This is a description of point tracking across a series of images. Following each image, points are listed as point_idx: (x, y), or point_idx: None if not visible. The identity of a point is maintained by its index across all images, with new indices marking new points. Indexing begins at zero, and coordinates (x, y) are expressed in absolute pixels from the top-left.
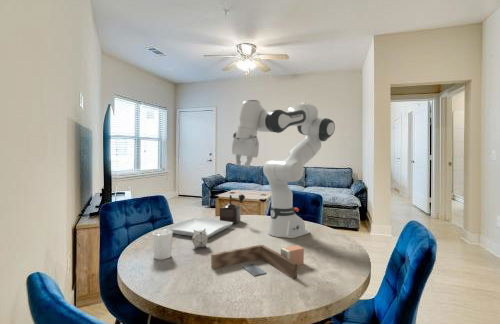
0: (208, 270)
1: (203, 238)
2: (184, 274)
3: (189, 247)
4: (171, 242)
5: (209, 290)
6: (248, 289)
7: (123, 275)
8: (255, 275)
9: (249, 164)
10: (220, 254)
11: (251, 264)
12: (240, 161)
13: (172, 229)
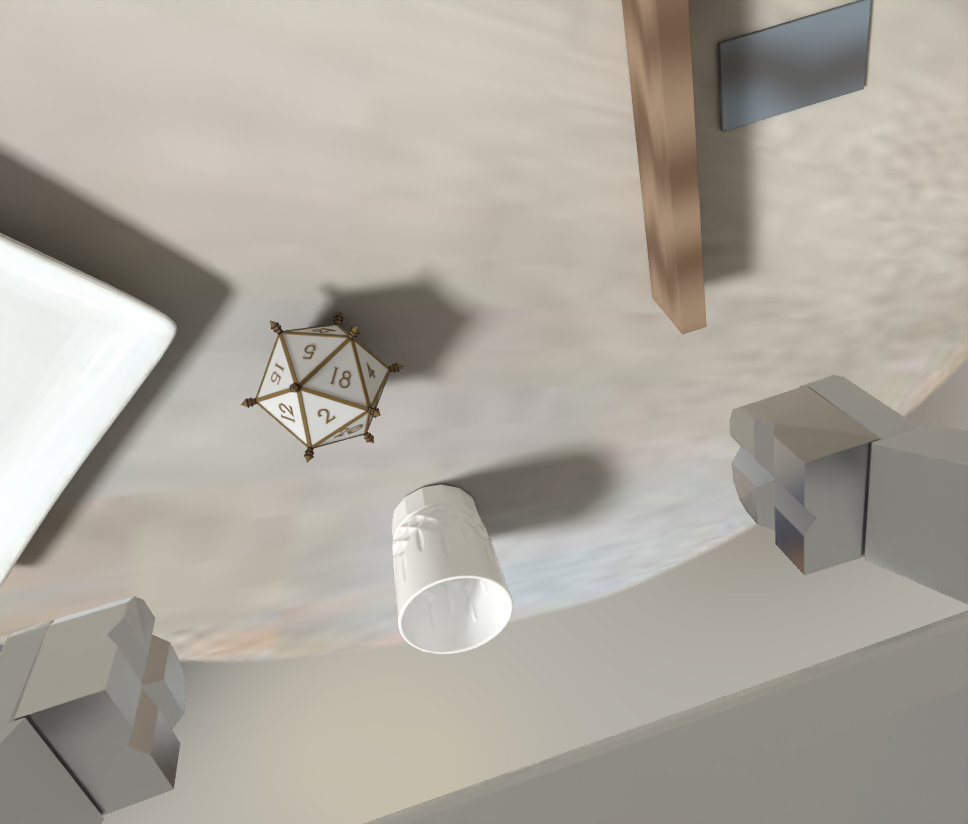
0: None
1: (374, 371)
2: (679, 409)
3: None
4: (464, 535)
5: (862, 315)
6: (950, 152)
7: (596, 596)
8: (864, 80)
9: (882, 422)
10: (702, 283)
11: (727, 62)
12: (119, 700)
13: (15, 558)
